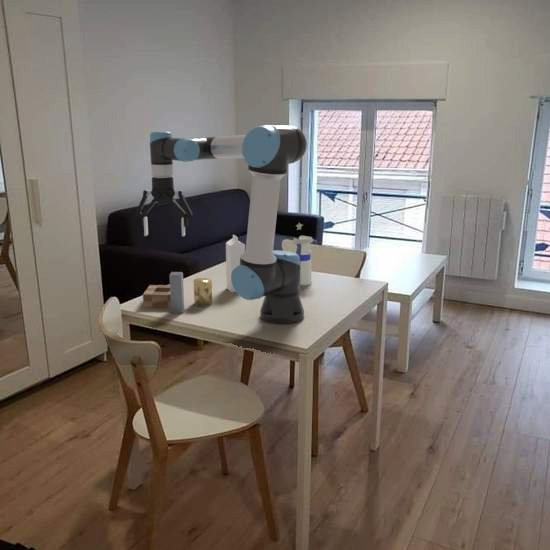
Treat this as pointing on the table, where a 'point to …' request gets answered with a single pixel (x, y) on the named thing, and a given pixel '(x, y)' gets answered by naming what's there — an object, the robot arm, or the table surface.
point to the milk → (233, 258)
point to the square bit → (176, 292)
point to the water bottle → (304, 257)
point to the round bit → (202, 292)
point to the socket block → (157, 297)
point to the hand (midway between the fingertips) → (164, 235)
